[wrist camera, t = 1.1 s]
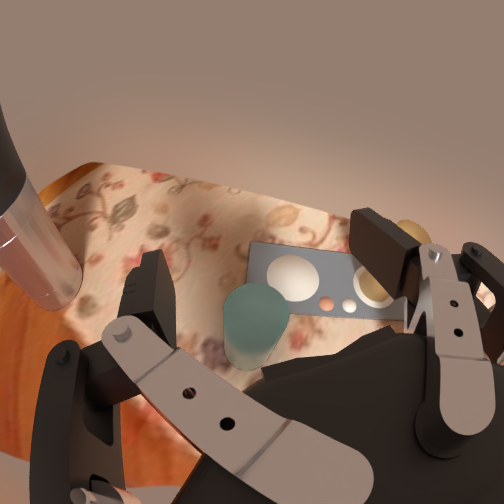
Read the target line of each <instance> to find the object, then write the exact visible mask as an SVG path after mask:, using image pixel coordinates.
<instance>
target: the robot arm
mask: <svg viewBox="0 0 504 504" xmlns="http://www.w3.org/2000/svg"><path fill="white" fill-rule="evenodd" d="M349 247H350V251H351V253H352V255H353V256H354V257H355V258H356V259H357V260H358V261H359V262H360V263H361V264H362V265H363V266H364V267H365V269H366V270H367V271H368V272H369V273H370V274H371V275H372V276H373V277H374V278H375V279H376V280H377V282H378V283H379V284H380V285H381V286H382V287H383V288H384V289H385V290H386V292H387V293H388V294H389V295H390V296H391V297H392V298H393V299H394V300H396V299H398V298H401V297H403V296H405V297H406V301H405V304H404V333H397V334H396V333H395V332H394V331H393V329H392V328H391V327H390V325H389V326H386V327H384V328H382V329H379V330H377V331H374V332H372V333H369V334H366V335H364V336H362V337H360V338H359V339H357V340H356V341H355V342H353V343H352V344H350V345H349V346H347V347H346V348H344V349H343V350H341V351H339V352H338V353H336V354H333V355H324V356H315V357H304V358H295V359H292V360H288V361H285V362H281V363H277V364H274V365H270V366H266V367H262V368H261V370H262V376H263V378H262V379H260V380H258V381H256V382H255V383H253V384H252V385H250V386H249V387H247V388H246V389H245V390H244V391H242V392H241V391H240V390H238V389H237V388H235V387H234V386H232V385H231V384H229V383H228V382H227V381H225V380H224V379H222V378H221V377H220V376H218V375H217V374H215V373H214V372H213V371H211V370H210V369H209V368H207V367H206V366H205V365H203V364H202V363H201V362H199V361H198V360H197V359H195V358H194V357H193V356H191V355H190V354H189V353H188V352H186V351H185V350H184V349H182V348H180V347H177V345H176V296H175V288H174V284H173V281H172V278H171V275H170V272H169V269H168V266H167V263H166V260H165V257H164V254H163V251H162V250H161V249H159V250H154V251H150V252H146V253H143V255H142V259H141V264H140V267H135V268H133V269H132V270H131V272H130V273H129V274H128V275H127V277H126V281H125V285H124V286H125V287H124V289H123V295H122V297H121V302H120V306H119V311H118V315H117V319H115V320H113V321H112V322H110V323H109V324H108V325H107V326H106V327H105V329H104V331H103V333H102V340H101V341H99V342H96V343H94V344H92V345H90V346H87V347H85V348H83V349H81V347H80V346H79V345H78V343H77V342H75V341H73V340H65V341H62V342H60V343H58V344H57V345H56V346H54V347H53V348H52V350H51V351H50V352H49V354H48V356H47V359H46V363H45V367H44V371H43V376H42V380H41V384H40V389H39V394H38V400H37V405H36V411H35V418H34V425H33V433H32V442H31V454H30V477H29V479H30V481H29V483H30V484H29V488H30V489H29V490H30V504H141V502H140V501H139V499H138V498H137V497H136V496H134V495H133V494H132V493H130V492H128V491H126V488H125V480H124V471H123V460H122V447H121V426H120V402H123V401H125V400H127V399H130V398H132V397H135V396H137V395H139V394H141V395H142V396H143V397H144V398H145V399H146V400H147V401H148V402H149V404H150V405H151V406H152V407H153V408H154V409H155V410H156V411H157V412H158V413H159V414H160V415H161V416H162V417H163V418H164V419H165V420H166V421H167V422H168V423H169V424H170V425H171V426H172V427H173V428H174V429H175V430H176V431H177V432H178V433H179V434H180V435H181V436H182V437H183V438H184V439H185V440H186V441H187V442H188V443H189V444H190V445H192V446H193V447H194V448H195V449H196V450H197V451H198V452H200V453H201V454H202V455H201V457H200V459H199V460H198V462H197V464H196V465H195V467H194V468H193V470H192V472H191V473H190V475H189V477H188V478H187V480H186V481H185V483H184V484H183V486H182V488H181V489H180V491H179V492H178V494H177V495H176V497H175V498H174V500H173V502H172V503H171V504H504V263H502V262H501V261H500V260H499V259H498V258H497V257H495V256H494V255H493V254H492V253H491V252H489V251H488V250H487V249H486V248H484V247H483V246H481V245H479V244H477V243H473V242H467V243H465V244H464V245H463V247H462V251H461V254H451V253H450V252H449V251H448V250H447V249H446V248H444V247H442V246H440V245H438V244H434V243H425V244H421V243H420V242H419V241H417V240H416V239H415V238H413V237H412V236H411V235H409V234H408V233H407V232H404V230H403V229H401V228H400V227H398V226H397V225H396V224H395V223H393V222H392V221H391V220H388V219H386V218H383V217H382V216H380V215H379V214H378V213H376V212H375V211H373V210H372V209H370V208H363V209H357V210H353V211H352V213H351V218H350V235H349ZM0 267H1V269H2V270H3V271H4V272H5V273H6V274H7V275H8V276H9V277H10V278H11V279H12V280H13V281H14V282H15V283H16V284H17V285H18V286H19V287H20V288H21V289H22V290H23V291H24V292H25V293H26V294H27V295H28V296H29V297H30V298H31V299H32V300H34V301H35V302H36V303H37V304H38V305H39V306H40V307H42V308H43V309H46V310H50V311H54V310H58V309H61V308H63V307H65V306H66V305H67V304H69V303H70V302H71V301H72V300H73V299H74V297H75V296H76V294H77V293H78V291H79V288H80V286H81V282H82V268H81V265H80V263H79V262H78V260H77V259H76V257H75V256H74V254H73V253H72V251H71V250H70V248H69V247H68V245H67V244H66V242H65V240H64V239H63V237H62V236H61V234H60V233H59V231H58V229H57V228H56V226H55V224H54V223H53V221H52V219H51V218H50V216H49V214H48V213H47V211H46V209H45V207H44V205H43V204H42V202H41V200H40V198H39V196H38V194H37V193H36V191H35V189H34V187H33V185H32V183H31V181H30V179H29V178H28V175H27V173H26V171H25V169H24V167H23V165H22V163H21V160H20V158H19V156H18V154H17V151H16V149H15V147H14V145H13V142H12V139H11V137H10V134H9V132H8V129H7V126H6V123H5V119H4V116H3V112H2V109H1V105H0ZM481 282H482V283H483V284H484V285H485V286H486V287H487V288H488V289H489V290H490V291H491V292H492V293H493V294H494V296H495V299H496V304H495V307H494V309H493V311H492V313H491V312H490V311H489V310H488V309H487V308H486V306H485V305H484V304H483V303H482V302H481V301H480V300H479V299H478V298H477V297H476V293H477V291H478V289H479V286H480V284H481ZM483 351H484V352H485V353H486V355H487V356H488V357H489V359H490V360H491V361H489V360H488V359H486V358H485V357H484V353H483Z"/></svg>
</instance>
